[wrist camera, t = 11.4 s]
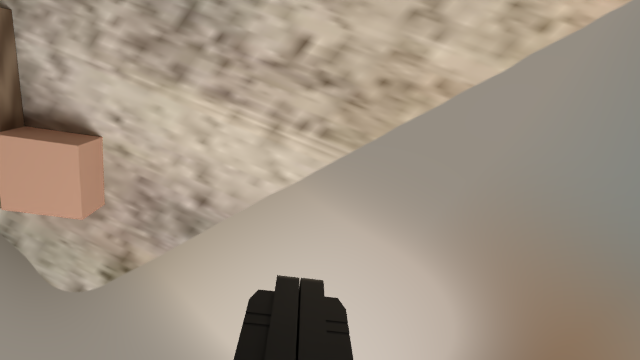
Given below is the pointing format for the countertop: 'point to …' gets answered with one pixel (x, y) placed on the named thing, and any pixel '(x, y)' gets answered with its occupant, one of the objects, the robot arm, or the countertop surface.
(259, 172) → the countertop surface
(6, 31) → the walnut board
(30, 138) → the terracotta block
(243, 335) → the robot arm
